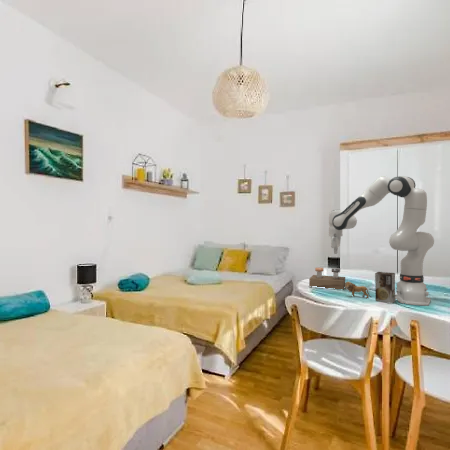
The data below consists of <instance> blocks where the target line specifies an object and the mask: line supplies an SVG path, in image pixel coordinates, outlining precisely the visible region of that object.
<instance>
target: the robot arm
mask: <svg viewBox="0 0 450 450" xmlns="http://www.w3.org/2000/svg"><path fill="white" fill-rule="evenodd" d="M416 185H417V184H416V181H415V180H414V179H413V178H412V177H409V176H404V175H402V176H395V177H393V178H390V177H388V176H379V177H378V178H376V180H374V181H373V182H372V183H371V184H370V185H369V186H367V188H366V189H365V190H363V192H362V193H361V194H360V195H359V196H358V197H357V198H356V199H355V200H353V201H352V202H351V203H350V204H349V205H348V206H347V207H346V208H345V209H344V210H341V209H333V210H331V211H330V212H329V216H328V225H329V227H328V237H330V240H331V242H330V244H331V245H330V247H331V249H333V253H334V255H337V254H338V248H339V247H340V246H341V239H342V238H341V237H343V230H350V229H354V228H355V227H356V226H357V221H358V220H357V217H356V216H355V214H357V213H358V212H359V211H361V210H363V209H365V208H369V207H375V205H377V204H379V203H380V202H381V201H383V199H384V198H385V197H386V196H387V195H388V194H392V195H394V196H397V197H399V198H403V200H404V207H403V215H402V220H401V223H400V225H399V227H398V228H397V230H396V231H395V232H394V233H392V234H391V235H390V237H389V241H388V243H389V246H390V247H391V248H392V249H393V250H395V251H400V252H406V251H407V253H406V255H405V256H404V257H402V258H401V260H400V273H399V281H398V282H397V283H396V294H395V300H396V299H397V300H398V301H397V300H396V301H397V302H398V303H401V304H404V303H405V304H404V305H411V306H413V305H414V306H429V305H430V304H431V297H428V296H429V293H430V292H429V291H428V290H429V289H428V288H427V284H425V283H424V281H425V279H424V278H425V277H424V274H423V271H424V270H423V269H424V266H423V265H424V260H425V257H426V255H427V253H428V251H429V250H430V249H431V248H432V247H433V246H434V245H435V239H434V236H433V235H432V234H431V233H429V232H425V231H418V229H419V228H420V227H421V226H422V225H424V224H425V223H426V217H427V209H428V208H427V207H428V197H427V196H428V195H427V192H426V191H425V190H424V189H422V188H416Z"/></svg>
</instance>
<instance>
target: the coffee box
mask: <svg viewBox="0 0 450 450" xmlns="http://www.w3.org/2000/svg"><path fill="white" fill-rule="evenodd" d="M374 278H375V279H374V283H375V285H374V286H375V289H374V290H375V300H376V301H375V302H380V303H388V304H393V303H395V302H396V299H395V295H396V273H395V272H386V271H377V272H375V273H374Z"/></svg>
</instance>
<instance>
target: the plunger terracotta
mask: <svg viewBox="0 0 450 450" xmlns="http://www.w3.org/2000/svg"><path fill="white" fill-rule="evenodd" d="M314 270H315V272H316V275H317V278H322V275H323V272H324V270H325V269H324V267H318V266H317V267H314Z"/></svg>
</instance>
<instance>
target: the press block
mask: <svg viewBox="0 0 450 450" xmlns="http://www.w3.org/2000/svg"><path fill="white" fill-rule="evenodd" d="M308 281H309V283H308V284H309V285H308V286H317V287H325V288H335V289H344V290H345V288H344V287H345V283H346V276H339V275H338V279H333V275H324V274H322V278H317V274H313V275H312V276H311V277H310V278H309V280H308ZM335 289H334V290H335Z"/></svg>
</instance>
